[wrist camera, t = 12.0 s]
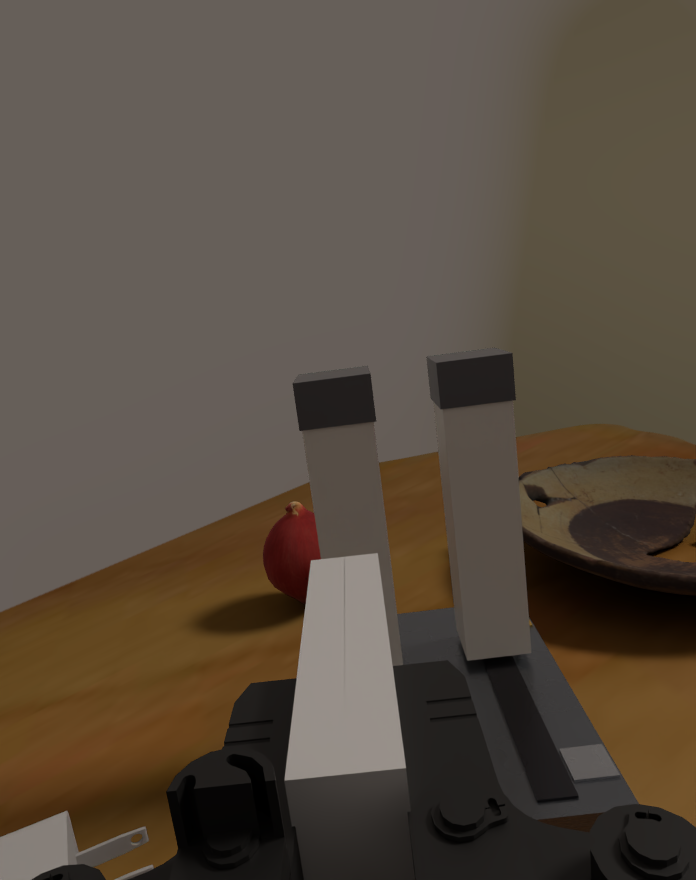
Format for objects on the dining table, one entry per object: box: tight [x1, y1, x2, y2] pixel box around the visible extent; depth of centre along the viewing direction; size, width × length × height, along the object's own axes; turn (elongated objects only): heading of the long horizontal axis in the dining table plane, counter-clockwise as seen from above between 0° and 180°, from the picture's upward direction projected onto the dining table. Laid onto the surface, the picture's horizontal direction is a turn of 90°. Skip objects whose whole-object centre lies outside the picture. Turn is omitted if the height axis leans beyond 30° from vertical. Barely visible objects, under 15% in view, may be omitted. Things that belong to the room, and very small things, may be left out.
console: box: [397, 608, 639, 833], centre depth 29 cm, size 11×15×4 cm
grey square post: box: [293, 366, 403, 666], centre depth 29 cm, size 3×3×14 cm
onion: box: [263, 502, 321, 604], centre depth 47 cm, size 6×6×8 cm
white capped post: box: [427, 348, 531, 661], centre depth 30 cm, size 3×3×14 cm
